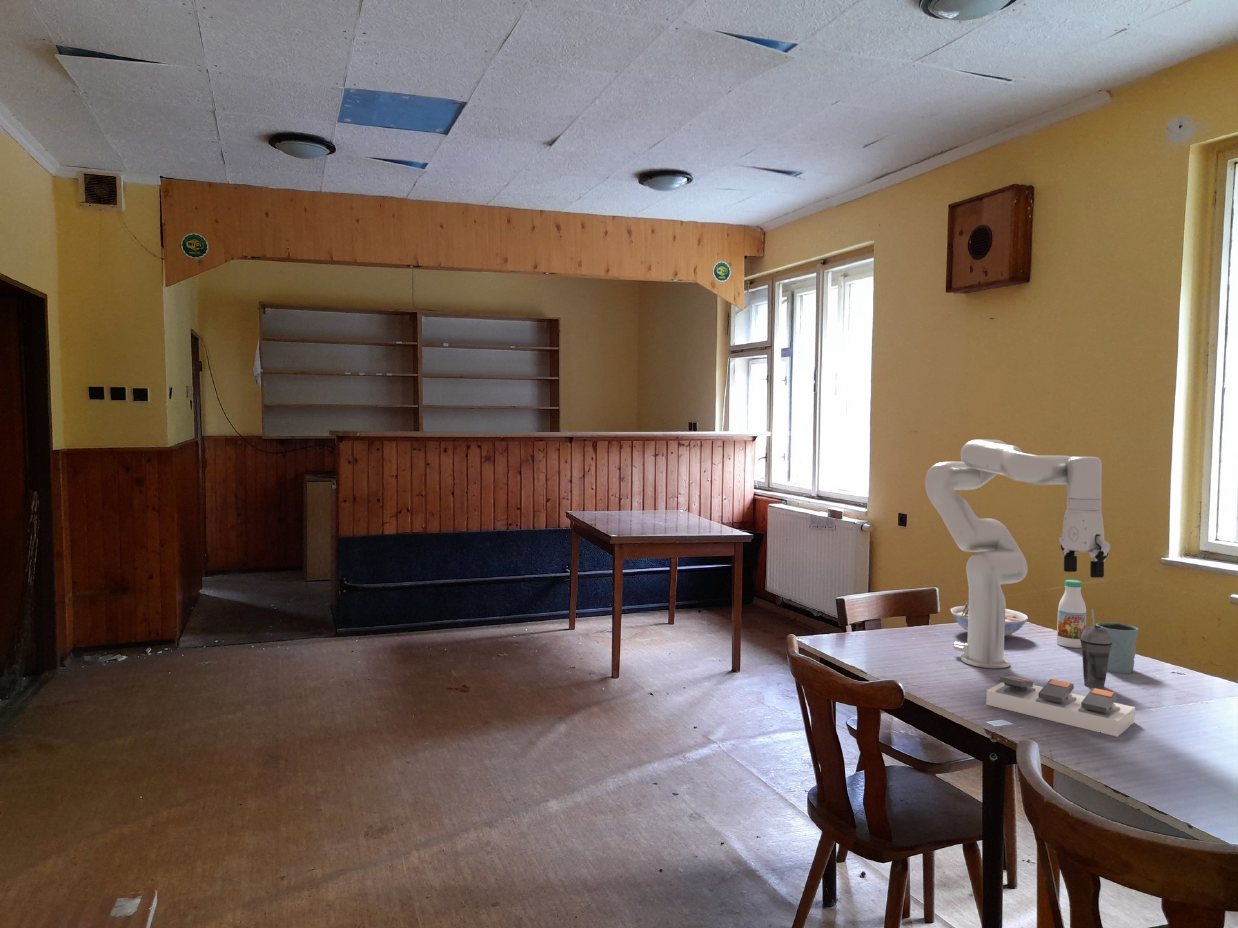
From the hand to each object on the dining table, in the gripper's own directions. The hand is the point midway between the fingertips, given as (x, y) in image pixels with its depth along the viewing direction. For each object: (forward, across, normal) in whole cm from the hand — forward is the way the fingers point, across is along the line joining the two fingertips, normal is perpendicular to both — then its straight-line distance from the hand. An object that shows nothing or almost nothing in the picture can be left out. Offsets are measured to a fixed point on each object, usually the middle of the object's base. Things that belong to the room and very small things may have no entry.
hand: (1083, 574), depth 211 cm
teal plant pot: (+30, -20, +25) cm, 44 cm away
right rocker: (+26, +21, -12) cm, 35 cm away
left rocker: (+25, +7, -22) cm, 34 cm away
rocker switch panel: (+30, +12, -15) cm, 36 cm away
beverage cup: (+30, -6, +8) cm, 32 cm away
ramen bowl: (+28, -58, +10) cm, 65 cm away
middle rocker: (+25, +14, -17) cm, 33 cm away
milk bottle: (+29, -45, +29) cm, 61 cm away
